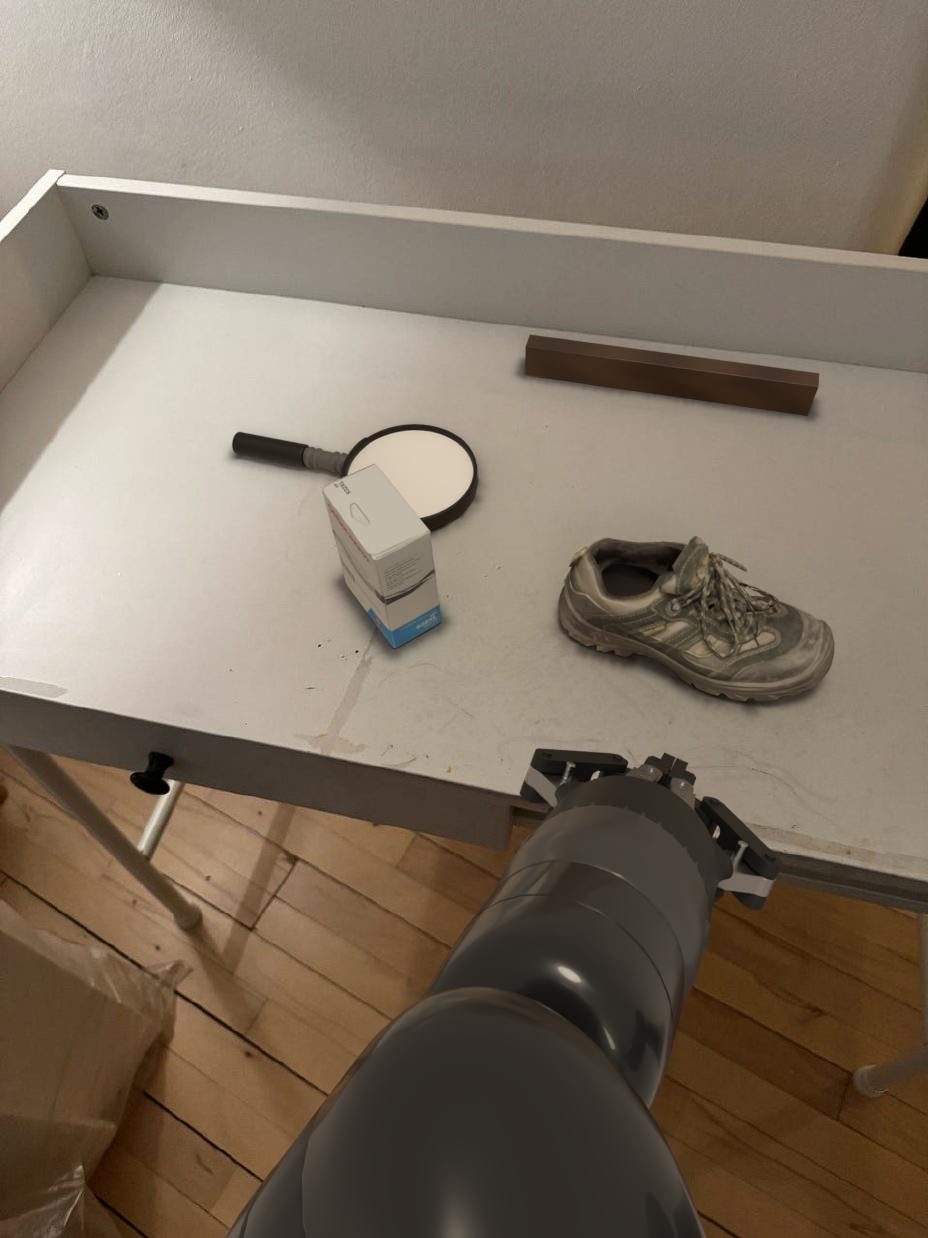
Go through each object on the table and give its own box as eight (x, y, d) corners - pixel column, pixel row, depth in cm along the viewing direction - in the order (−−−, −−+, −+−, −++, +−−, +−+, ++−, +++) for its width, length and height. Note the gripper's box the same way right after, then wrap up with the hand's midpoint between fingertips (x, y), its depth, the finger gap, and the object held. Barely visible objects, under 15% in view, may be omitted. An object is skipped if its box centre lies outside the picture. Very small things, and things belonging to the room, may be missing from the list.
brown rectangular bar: (808, 401, 81) (819, 373, 78) (807, 415, 80) (818, 386, 77) (529, 362, 87) (529, 334, 84) (524, 374, 86) (525, 346, 83)
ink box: (444, 623, 68) (433, 529, 59) (392, 651, 67) (372, 560, 57) (393, 556, 73) (375, 458, 63) (343, 581, 71) (317, 485, 62)
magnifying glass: (266, 408, 84) (261, 391, 83) (493, 450, 79) (493, 433, 78) (210, 496, 78) (203, 480, 76) (454, 547, 73) (453, 531, 71)
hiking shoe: (824, 732, 59) (864, 576, 54) (539, 673, 65) (551, 528, 60) (822, 674, 67) (857, 532, 61) (568, 627, 73) (581, 495, 68)
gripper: (426, 903, 35) (544, 780, 50) (737, 1075, 30) (758, 882, 46) (483, 743, 33) (586, 668, 49) (821, 903, 29) (813, 764, 45)
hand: (670, 772), depth 48 cm, fingers closed
